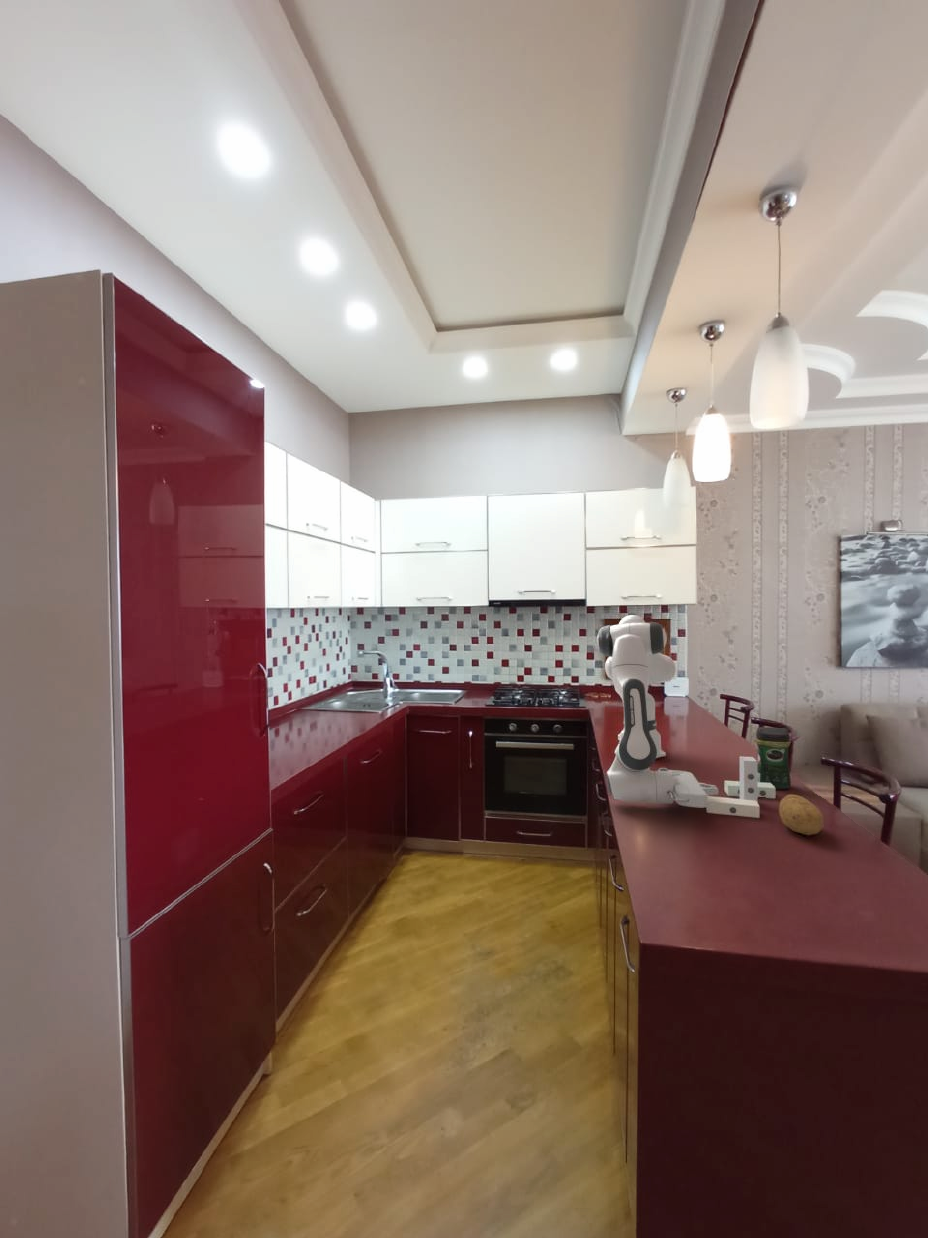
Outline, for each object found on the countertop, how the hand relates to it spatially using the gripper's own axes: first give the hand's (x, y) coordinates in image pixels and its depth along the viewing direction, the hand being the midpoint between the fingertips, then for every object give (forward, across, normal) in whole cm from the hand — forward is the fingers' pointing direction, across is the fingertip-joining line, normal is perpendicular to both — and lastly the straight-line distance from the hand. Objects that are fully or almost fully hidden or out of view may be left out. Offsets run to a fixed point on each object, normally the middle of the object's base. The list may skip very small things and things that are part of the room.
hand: (717, 790), depth 153 cm
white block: (+6, +16, +5) cm, 18 cm away
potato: (+17, -11, +6) cm, 21 cm away
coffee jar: (+22, +25, +6) cm, 34 cm away
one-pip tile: (-3, +1, +5) cm, 5 cm away
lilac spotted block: (+10, +8, +6) cm, 14 cm away
